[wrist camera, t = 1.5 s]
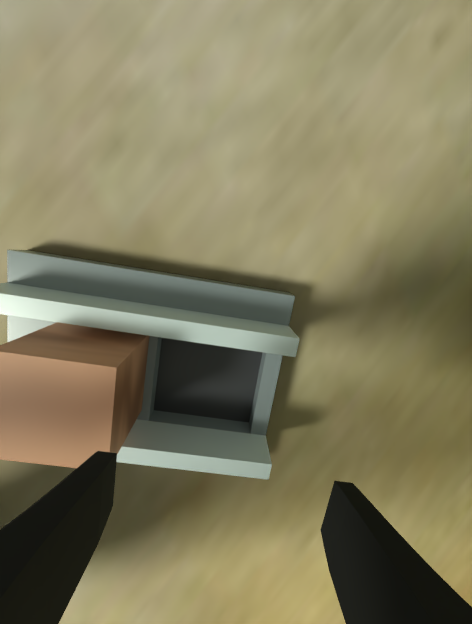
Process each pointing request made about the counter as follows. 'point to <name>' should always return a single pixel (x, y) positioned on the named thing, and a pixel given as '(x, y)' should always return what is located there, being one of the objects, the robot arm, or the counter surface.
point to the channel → (171, 353)
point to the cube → (69, 393)
